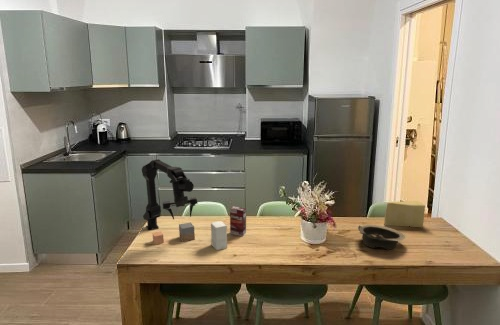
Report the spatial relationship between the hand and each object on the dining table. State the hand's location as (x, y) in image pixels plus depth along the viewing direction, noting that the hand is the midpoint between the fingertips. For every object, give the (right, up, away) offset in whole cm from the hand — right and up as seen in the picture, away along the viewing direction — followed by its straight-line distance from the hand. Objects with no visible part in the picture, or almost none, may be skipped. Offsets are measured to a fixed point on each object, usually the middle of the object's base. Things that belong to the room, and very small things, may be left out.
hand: (182, 218), depth 212 cm
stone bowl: (+110, -14, -1) cm, 111 cm away
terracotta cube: (-14, -14, +2) cm, 20 cm away
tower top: (+1, -9, +6) cm, 11 cm away
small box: (+21, -15, -3) cm, 26 cm away
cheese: (+132, -8, +25) cm, 135 cm away
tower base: (+2, -13, +7) cm, 15 cm away
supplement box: (+31, -11, +13) cm, 35 cm away
